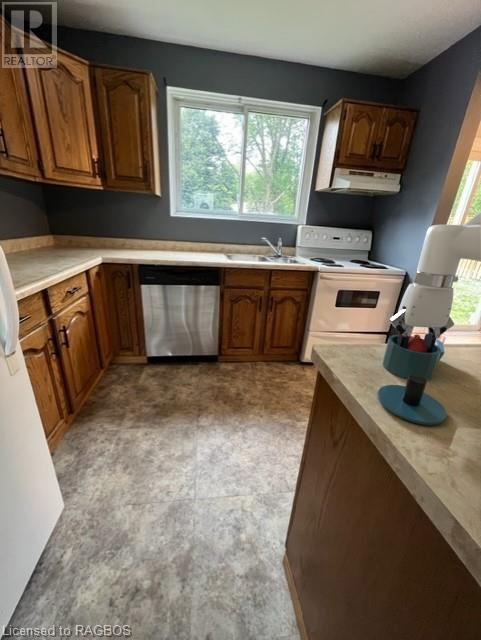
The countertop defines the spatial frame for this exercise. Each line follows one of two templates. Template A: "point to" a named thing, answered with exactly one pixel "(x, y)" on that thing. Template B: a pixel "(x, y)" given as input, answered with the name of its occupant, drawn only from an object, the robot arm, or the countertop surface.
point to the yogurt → (440, 345)
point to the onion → (417, 344)
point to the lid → (412, 402)
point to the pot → (409, 360)
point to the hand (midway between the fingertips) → (413, 349)
